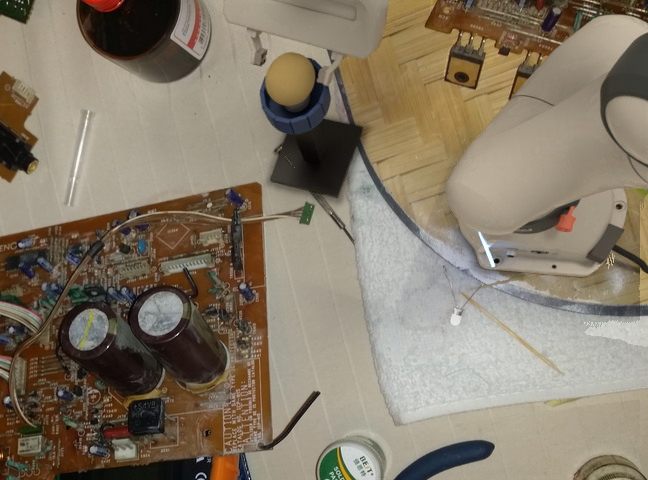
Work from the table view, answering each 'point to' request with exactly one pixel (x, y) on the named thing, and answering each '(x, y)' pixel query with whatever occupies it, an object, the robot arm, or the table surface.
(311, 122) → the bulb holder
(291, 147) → the stand
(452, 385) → the table surface
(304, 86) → the light bulb
